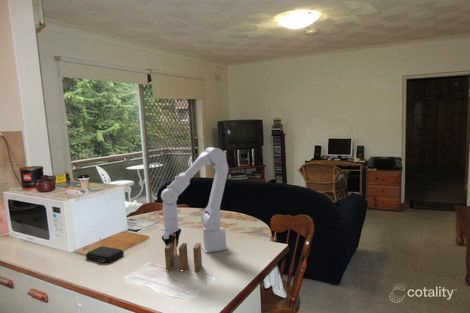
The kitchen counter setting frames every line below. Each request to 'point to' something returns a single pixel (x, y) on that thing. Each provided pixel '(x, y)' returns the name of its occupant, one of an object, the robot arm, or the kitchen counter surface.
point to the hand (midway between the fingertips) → (172, 249)
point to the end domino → (174, 245)
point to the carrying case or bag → (104, 254)
